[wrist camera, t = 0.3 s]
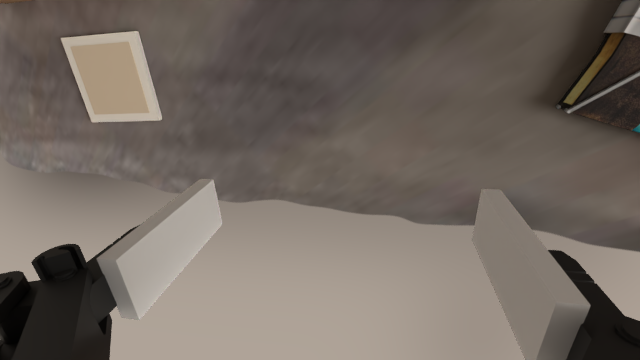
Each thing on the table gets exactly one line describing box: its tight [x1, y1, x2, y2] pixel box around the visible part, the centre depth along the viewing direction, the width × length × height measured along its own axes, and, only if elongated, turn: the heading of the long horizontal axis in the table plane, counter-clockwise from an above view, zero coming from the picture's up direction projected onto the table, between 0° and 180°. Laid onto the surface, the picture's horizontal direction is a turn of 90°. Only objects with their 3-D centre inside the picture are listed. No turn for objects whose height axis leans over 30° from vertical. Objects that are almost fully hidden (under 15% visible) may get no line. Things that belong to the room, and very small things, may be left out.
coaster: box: [61, 31, 162, 122], centre depth 45 cm, size 12×12×1 cm
